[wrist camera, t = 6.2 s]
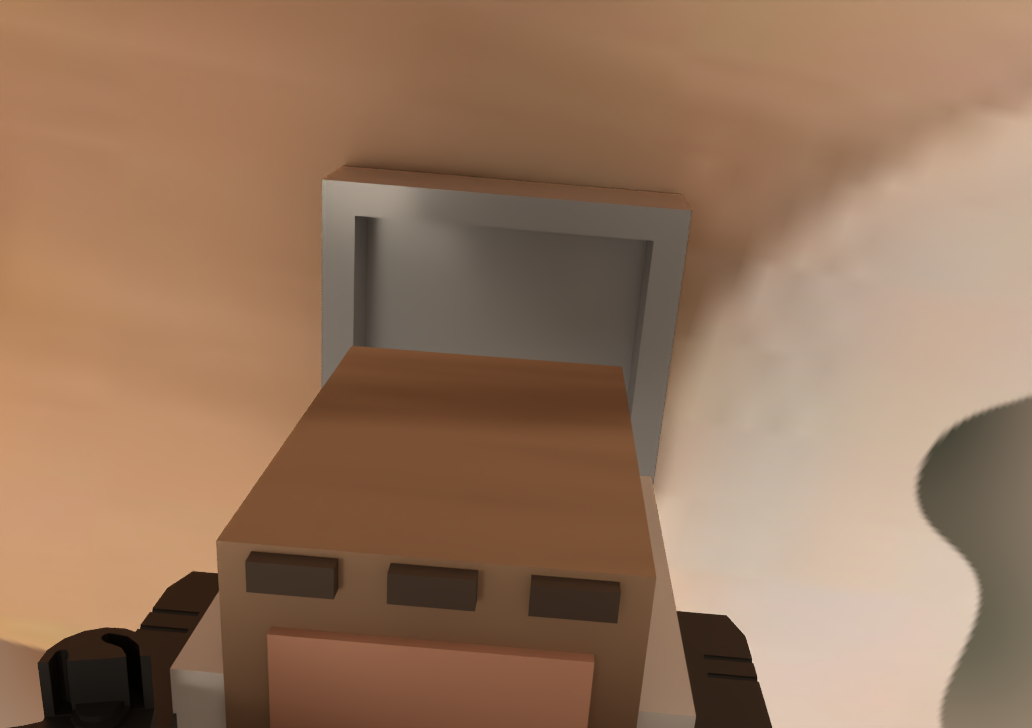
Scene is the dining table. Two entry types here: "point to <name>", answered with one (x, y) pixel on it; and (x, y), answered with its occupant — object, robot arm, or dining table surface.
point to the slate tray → (507, 275)
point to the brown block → (443, 552)
